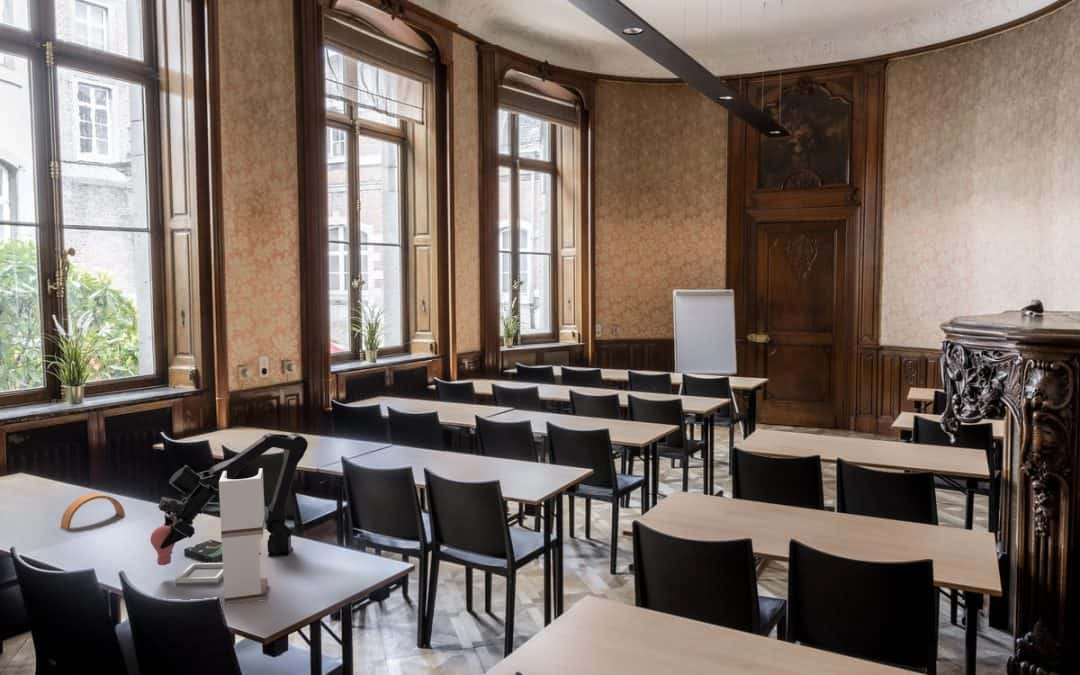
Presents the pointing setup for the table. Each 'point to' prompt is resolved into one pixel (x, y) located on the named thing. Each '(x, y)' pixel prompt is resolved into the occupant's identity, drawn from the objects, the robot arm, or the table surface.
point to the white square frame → (201, 575)
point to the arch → (82, 500)
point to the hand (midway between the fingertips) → (159, 544)
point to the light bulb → (156, 541)
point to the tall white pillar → (242, 537)
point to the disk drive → (206, 551)
